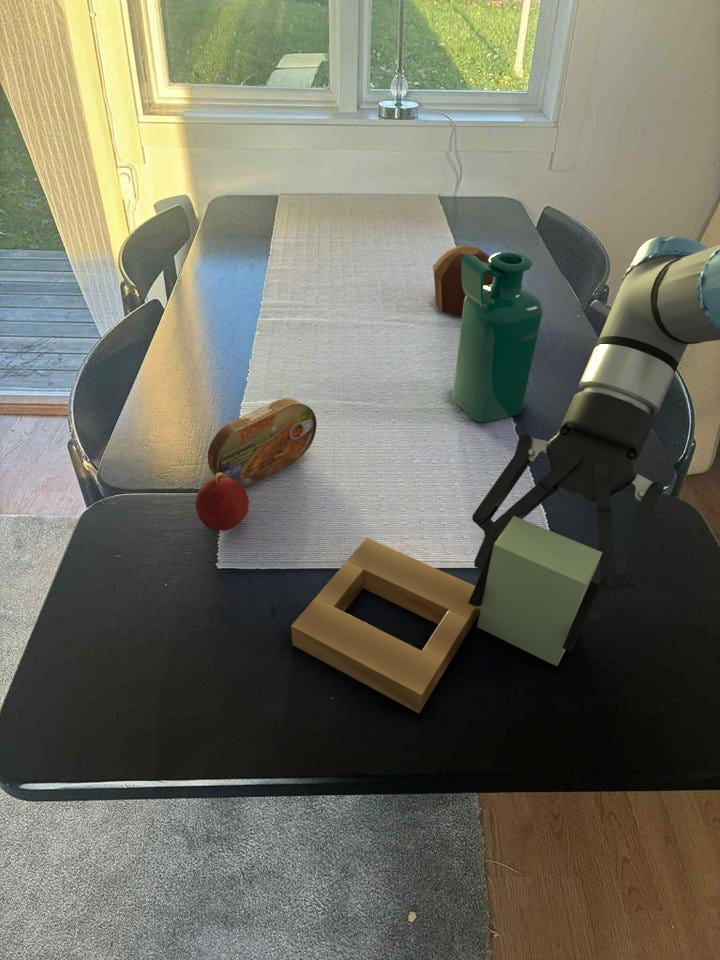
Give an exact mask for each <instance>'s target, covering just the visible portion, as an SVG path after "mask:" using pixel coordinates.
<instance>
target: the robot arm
mask: <svg viewBox="0 0 720 960" xmlns="http://www.w3.org/2000/svg"><path fill="white" fill-rule="evenodd" d="M714 341H715V342H716V341H720V244H718V245H715V246H712V247H708V246H707V245H705V244H703V243H701V242H699V241H697V240H694V239H691V238H687V237H683V236H676V235H672V236H671V237H666V236H657V237H654V238H651V239H649V240H647V241H645V242H644V243H642V245H641V246H640V247H639V248H638V250H637V252H636V253H635V256H634V258H633V260H632V261H631V264H630V265H629V267H628V268H627V269H626V271H625V274H624V275H623V277H622V280H621V283H620V287H619V289H618V292H617V294H616V297H615V299H614V302H613V304H612V306H611V309H610V311H609V314H608V316H607V319H606V321H605V324H604V326H603V328H602V330H601V333H600V336H599V338H598V340H597V342H596V345H595V348H593V351H592V353H591V355H590V358H589V360H588V362H587V365H586V367H585V369H584V372H583V374H582V376H581V378H580V381H579V383H578V386H579V389H580V390H581V391H579V392H578V393H575V394H574V395H573V397H572V400H571V402H570V405H569V407H568V409H567V412H566V413H565V416H564V418H563V421H562V422H561V426H560V428H559V430H558V431H557V433H556V434H555V435H554V436H553V437H552V438H550V439H549V440H544V439H539V438H535V437H532V435H530V434H528V433H522V434H520V435H519V437H518V440H517V444H516V446H515V447H516V448H515V451H514V455H513V457H512V458H511V459H510V461H509V462H508V464H507V465H506V467H505V468H504V469H503V471H502V472H501V474H500V475H499V476H498V478H497V480H496V481H495V483H494V484H493V485H492V486H491V488H490V489H489V491H488V492H487V494H486V495H485V497H484V498H483V500H482V501H481V502H480V504H479V505H478V507H477V508H476V509H475V511H474V513H473V514H472V517H471V518H472V519H471V520H472V522H473V523H474V524H475V525H477V526H478V527H479V528H480V529H481V530H482V531H483V534H484V536H483V537H484V538H483V540H482V542H481V545H480V547H479V549H478V552H477V554H476V556H475V558H474V561H473V562H474V563H473V564H474V566H473V567H475V568H477V569H478V570H481V572H480V574H479V577H478V579H477V581H476V584H475V585H474V586H475V588H474V591H473V593H472V595H471V598H470V600H469V602H468V603H469V604H471V605H473V606H475V607H476V606H481V604H482V600H483V595H484V590H485V585H486V581H487V576H488V571H489V566H490V561H491V557H492V552H493V547H494V544H495V542H496V541H497V539H498V538H499V536H500V535H501V534H502V532H503V531H504V529H505V528H506V526H507V525H508V523H509V522H510V521H511V519H512V518H513V516H516V517H518V518H520V519H523V520H524V519H525V518H526V517H527V516H528V515H529V514H531V513H532V512H533V511H534V510H535V509H536V508H538V506H540V505H541V504H542V503H543V502H545V500H547V499H548V498H549V497H550V496H552V495H553V494H555V493H556V492H557V491H558V490H560V491H562V492H564V493H566V494H570V495H577V496H578V497H580V498H582V499H583V500H585V501H587V502H590V503H595V508H596V519H597V535H598V551H600V552H602V555H601V558H600V561H599V566H600V567H599V568H600V582H599V583H597V582H594V581H592V582H591V583H590V585H589V587H588V589H587V592H586V594H585V596H584V599H583V601H582V603H581V606H580V608H579V610H578V613H577V615H576V617H575V620H574V622H573V624H572V627H571V629H570V631H569V634H568V636H567V638H566V641H565V643H564V645H563V647H562V648H563V649H565V651H568V652H569V653H571V652H572V651H573V649H574V647H575V644H576V643H577V640H578V637H579V635H580V633H581V631H582V628H583V627H584V624H585V621H586V619H589V620H592V621H593V622H598V621H599V620H600V619H601V618H602V615H603V613H604V611H605V609H606V606H607V604H608V601H609V599H610V597H611V595H612V593H613V591H615V590H618V589H622V590H635V589H637V588H638V586H639V583H640V578H641V573H642V567H643V563H644V556H645V552H646V547H647V542H648V541H647V540H648V536H649V530H650V525H651V520H652V514H653V509H654V508H655V506H656V505H657V503H658V501H659V500H660V498H661V497H662V495H663V492H664V490H665V487H664V484H663V483H662V482H660V481H653V480H650V479H649V478H647V477H645V476H643V475H640V474H639V473H638V466H637V464H638V461H639V458H640V456H641V453H642V451H643V448H644V447H645V444H646V441H647V440H648V437H649V434H650V432H651V430H652V427H653V426H654V421H653V417H652V416H653V415H656V414H658V413H659V411H660V409H661V408H662V404H663V402H664V399H665V397H666V395H667V393H668V390H669V388H670V386H671V383H672V381H673V378H674V377H675V374H676V373H677V369H678V367H679V364H680V362H681V360H682V358H683V356H684V353H685V351H686V350H687V347H688V345H696V344H702V343H706V342H714ZM542 454H546V456H547V459H548V463H549V466H550V471H548V472H547V474H545V475H544V476H543V477H542V478H541V479H540V480H539V481H538V482H537V484H535V485H534V486H533V487H532V488H530V490H529V491H528V492H527V493H525V494H523V496H522V497H521V498H520V499H518V500H517V501H516V502H515V503H514V504H513V505H511V506H510V507H509V508H508V509H507V510H505V512H504V513H503V514H501V515H500V516H499V517H497V519H496V520H495V521H493V520H492V519H493V517H494V516H495V514H496V513H497V511H498V510H499V509H500V507H501V505H502V504H503V503H504V502H505V500H506V498H508V496H509V494H510V493H511V491H512V490H513V489H514V487H515V486H516V485H517V483H518V481H519V480H520V478H521V477H522V476H523V474H524V473H525V472H526V469H527V468H528V467H529V466H530V465H529V464H530V462H534V461H537V460H538V459H539V457H540V455H542ZM631 485H632V486H633V487H634V489H635V490H634V491H635V492H634V498H635V500H636V501H637V502H639V503H638V507H637V511H636V517H635V522H634V528H633V531H632V537H631V542H630V547H629V553H628V559H627V563H626V569H625V574H616V562H615V549H614V534H613V533H614V532H613V517H612V503H611V497H612V496H613V495H616V494H617V493H618V492H620V491H622V490H625V489H626V488H628V486H631Z"/></svg>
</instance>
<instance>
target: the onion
mask: <svg viewBox="0 0 720 960" xmlns="http://www.w3.org/2000/svg"><path fill="white" fill-rule="evenodd" d="M249 508H250V498H249V496H248V493H247V491H246V489H245V488H243V486H241V485H240V484H239V483H238V482H237V481H235V480H233V479H231V478H228V477H226V475H225V474H224V473H222V472H220V473H216V475H215V476H213V477H212V478H210V479H208V480H207V481H206V482H205V483H203V484H202V486H201V487H200V488H199V490H198V492H197V495H196V498H195V510H196V514H197V516H198V519H199V520H200V521H201V522H202V523H203V525H204V526H206V528H208V529H210V530H213V531H215V532H226V531H229V530H230V531H231V530H232V529H234V528H236V527H238V526H239V525H240V524H241V523H243V521H244V520H245V519H246V517H247V516H248V513H249Z"/></svg>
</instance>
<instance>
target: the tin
mask: <svg viewBox="0 0 720 960" xmlns="http://www.w3.org/2000/svg"><path fill="white" fill-rule="evenodd" d="M317 423H318V422H317V416H316V414H315V412H314V410H313V409H312V408H311V407H310V406H309V405H306V404H304V403H302V402H300V401H298V400H297V399H294V398H290V397H289V398H288V397H284V398H280V399H277V400H274V401H272V402H270V403H268V404H266V405H264V406H261V407H260V408H257V409H256V410H254V411H252V412H250V413H247V414H246V415H243V416H241V417H239V418H237V419H235V420H233V421H231V422H228V423H226V424H225V425H224V426H223V427H221V428H220V429H219V430H218V431H217V433H216V434H215V435H214V437H213V438H212V440H211V442H210V444H209V447H208V449H207V450H208V451H207V463H208V468H209V470H210V472H211V474H212V475H213V477H215V475H216V473H220V472H222V473H224V474H225V475H226V477H228V478H231V479H233V480H235V481H237V482H238V483H239V484H240V485H241V486H243V488H244V489H245V488H248V487H250V486H252V485H254V484H256V483H258V482H260V481H261V480H263V479H265V478H266V477H269V476H271V475H272V474H274V473H276V472H278V471H280V470H281V469H284V468H286V467H287V466H289V465H291V464H293V463H295V462H296V461H298V460H300V458H302V457H303V456H304V455H305V454H306V452H307V451H308V450H309V449H310V447H311V445H312V443H313V441H314V439H315V438H316V437H315V436H316V432H317V426H318V425H317Z"/></svg>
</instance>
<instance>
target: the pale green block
mask: <svg viewBox="0 0 720 960" xmlns="http://www.w3.org/2000/svg"><path fill="white" fill-rule="evenodd" d="M601 555H602V552H600V551H599V549H595V548H592V547H591V546H588V545H585V544H584V543H580V542H578V541H576V540H573V539H571V538H569V537H567V536H565V535H562V534H559V533H556V532H554V531H553V530H549V529H547V528H545V527H542V526H540V525H538V524H535V523H532V522H530V521H527V520H525V519H524V518H523V519H520V518H518V517H516V516H513V518H512V519H511V521H510V522H509V523H508V525H507V526H506V528H505V529H504V531H503V532H502V534H501V535H500V536H499V538H498V539H497V541H496V542H495V544H494V547H493V552H492V557H491V561H490V566H489V571H488V576H487V581H486V585H485V590H484V595H483V600H482V605H481V609H480V614H479V615H478V618H477V619H478V620H477V624H476V627H477V628H478V629H480V630H482V631H484V632H486V633H488V634H490V635H492V636H494V637H496V638H498V639H500V640H502V641H504V642H506V643H509V644H510V645H513V646H514V647H516V648H519V649H521V650H523V651H524V652H527V653H529V654H531V655H533V656H534V657H537V658H539V659H541V660H543V661H545V662H547V663H548V664H551V665H553V666H555V667H558V666H559V664H560V662H561V660H562V658H563V656H564V654H565V652H566V650H565V649H563V648H562V647H563V645H564V643H565V641H566V638H567V636H568V634H569V631H570V629H571V627H572V624H573V622H574V620H575V617H576V615H577V613H578V610H579V608H580V606H581V603H582V601H583V599H584V596H585V594H586V592H587V589H588V587H589V585H590V583H591V582H593V580H594V577H595V575H596V571H597V569H598V566H599V565H600V558H601Z"/></svg>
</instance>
